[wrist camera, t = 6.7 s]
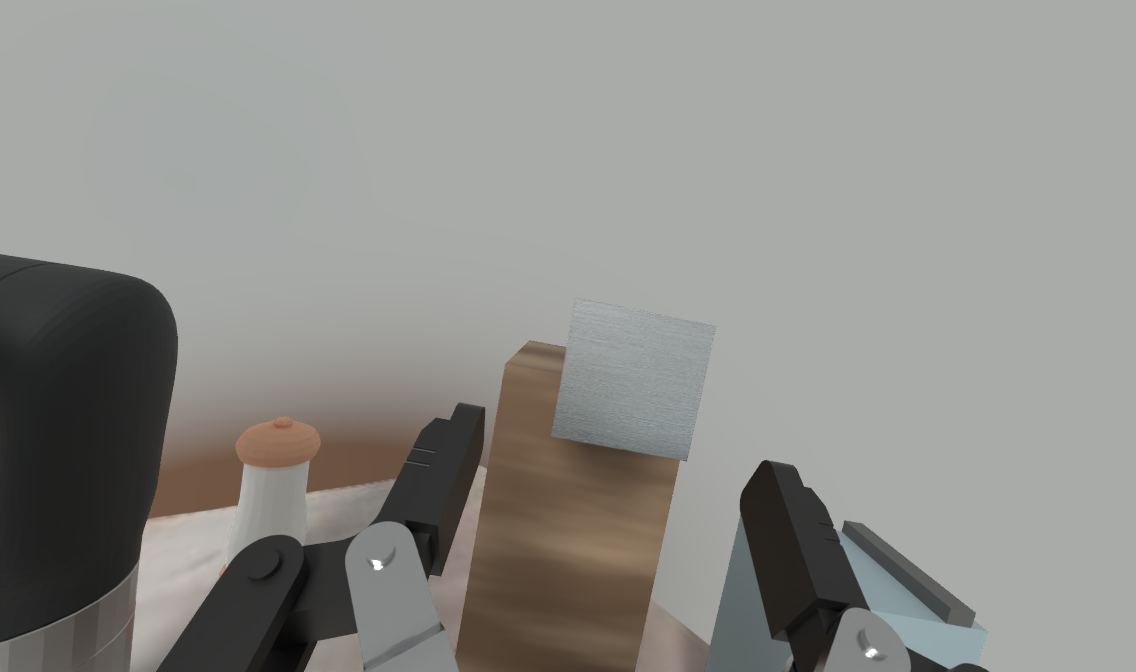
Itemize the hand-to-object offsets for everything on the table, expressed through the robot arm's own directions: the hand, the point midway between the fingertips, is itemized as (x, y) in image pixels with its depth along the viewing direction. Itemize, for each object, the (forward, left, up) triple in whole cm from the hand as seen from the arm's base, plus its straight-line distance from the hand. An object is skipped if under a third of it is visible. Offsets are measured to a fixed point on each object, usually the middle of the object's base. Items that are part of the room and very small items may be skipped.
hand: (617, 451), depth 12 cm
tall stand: (-8, +14, -32) cm, 36 cm away
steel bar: (-6, +11, 0) cm, 13 cm away
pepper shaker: (-39, +11, -32) cm, 52 cm away
